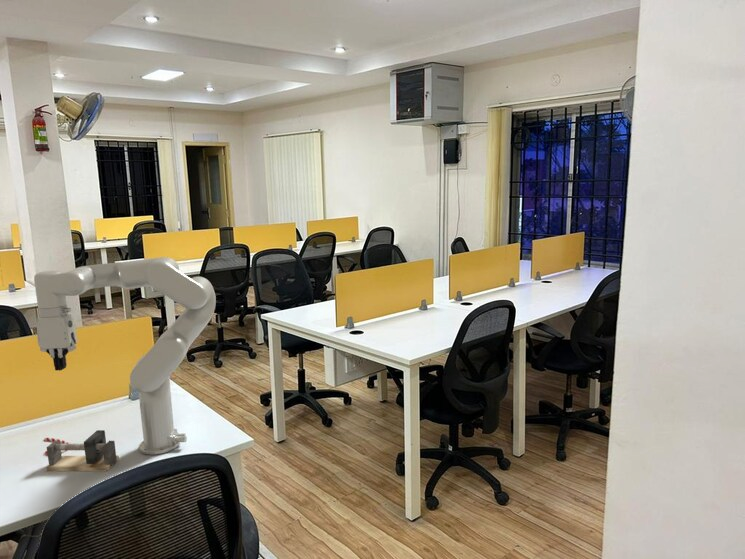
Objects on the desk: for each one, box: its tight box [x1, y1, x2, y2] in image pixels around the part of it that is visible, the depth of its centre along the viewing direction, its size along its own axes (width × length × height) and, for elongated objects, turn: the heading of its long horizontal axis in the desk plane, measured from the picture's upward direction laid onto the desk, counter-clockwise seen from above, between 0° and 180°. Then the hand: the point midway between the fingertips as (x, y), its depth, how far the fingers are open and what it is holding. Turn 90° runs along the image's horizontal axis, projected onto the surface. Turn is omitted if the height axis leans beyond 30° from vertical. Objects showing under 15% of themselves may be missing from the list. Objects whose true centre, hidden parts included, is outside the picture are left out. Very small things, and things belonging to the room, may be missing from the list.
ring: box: [83, 429, 107, 464], centre depth 167 cm, size 2×8×7 cm, turn 178°
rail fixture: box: [45, 440, 120, 472], centre depth 168 cm, size 19×7×7 cm, turn 88°
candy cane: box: [43, 437, 70, 457], centre depth 181 cm, size 8×1×15 cm
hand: (60, 368), depth 169 cm, fingers closed
